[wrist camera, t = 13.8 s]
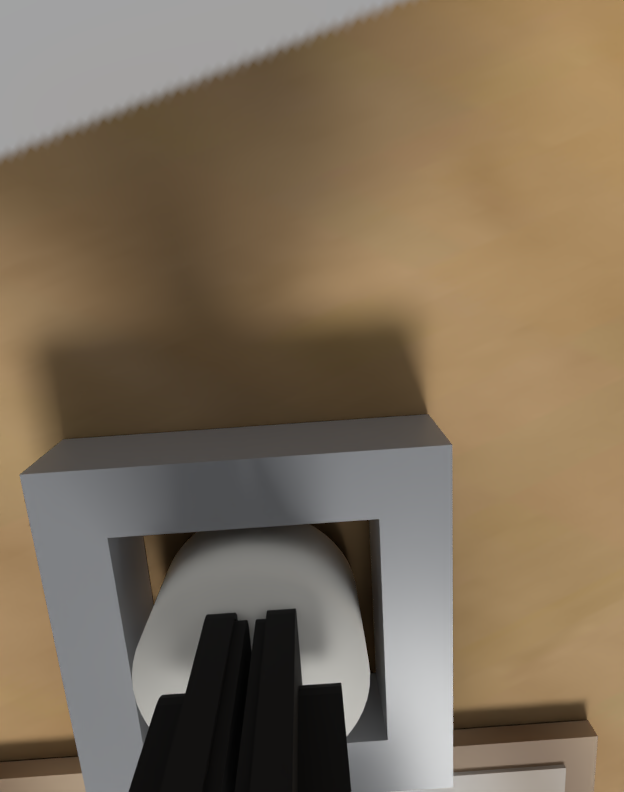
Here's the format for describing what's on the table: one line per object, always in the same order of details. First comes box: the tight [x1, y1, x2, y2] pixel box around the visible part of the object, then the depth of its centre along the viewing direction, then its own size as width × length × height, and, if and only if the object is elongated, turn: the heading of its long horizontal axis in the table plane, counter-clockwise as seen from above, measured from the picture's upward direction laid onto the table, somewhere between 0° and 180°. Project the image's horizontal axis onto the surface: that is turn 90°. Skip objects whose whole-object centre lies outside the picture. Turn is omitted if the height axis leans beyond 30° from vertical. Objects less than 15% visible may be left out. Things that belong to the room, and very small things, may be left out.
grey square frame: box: [20, 414, 453, 792], centre depth 13 cm, size 8×8×2 cm
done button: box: [132, 524, 370, 736], centre depth 12 cm, size 4×4×2 cm
